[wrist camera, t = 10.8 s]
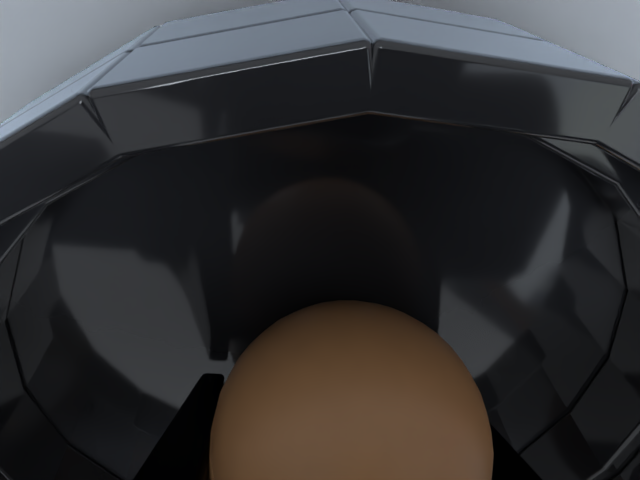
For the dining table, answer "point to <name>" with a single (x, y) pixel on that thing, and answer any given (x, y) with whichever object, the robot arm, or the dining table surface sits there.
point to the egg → (350, 402)
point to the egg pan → (321, 224)
